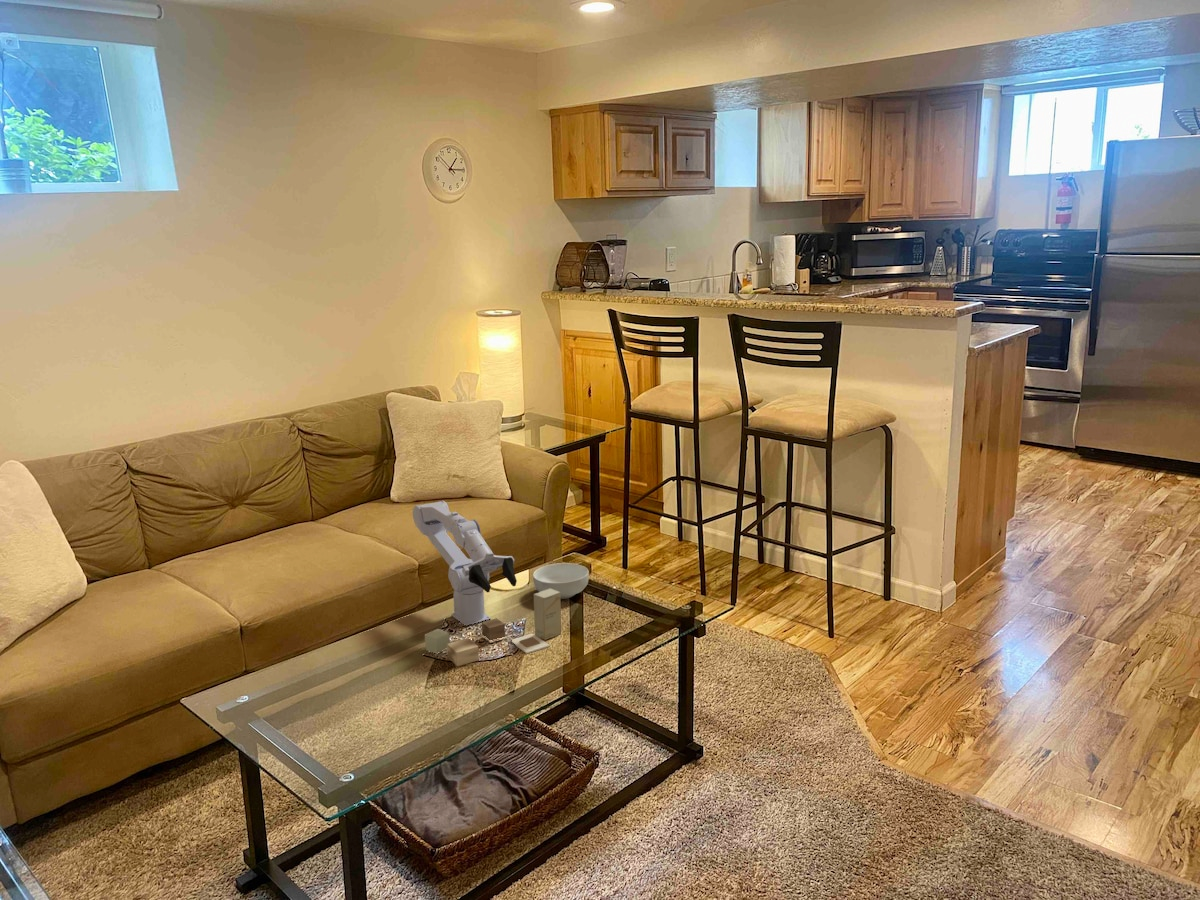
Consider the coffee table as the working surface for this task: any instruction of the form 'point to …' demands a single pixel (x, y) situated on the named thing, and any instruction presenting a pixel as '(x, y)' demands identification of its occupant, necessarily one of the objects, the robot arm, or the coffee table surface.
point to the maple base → (462, 652)
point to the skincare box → (547, 613)
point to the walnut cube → (493, 629)
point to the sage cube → (436, 640)
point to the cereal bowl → (561, 578)
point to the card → (530, 643)
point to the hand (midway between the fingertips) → (502, 586)
